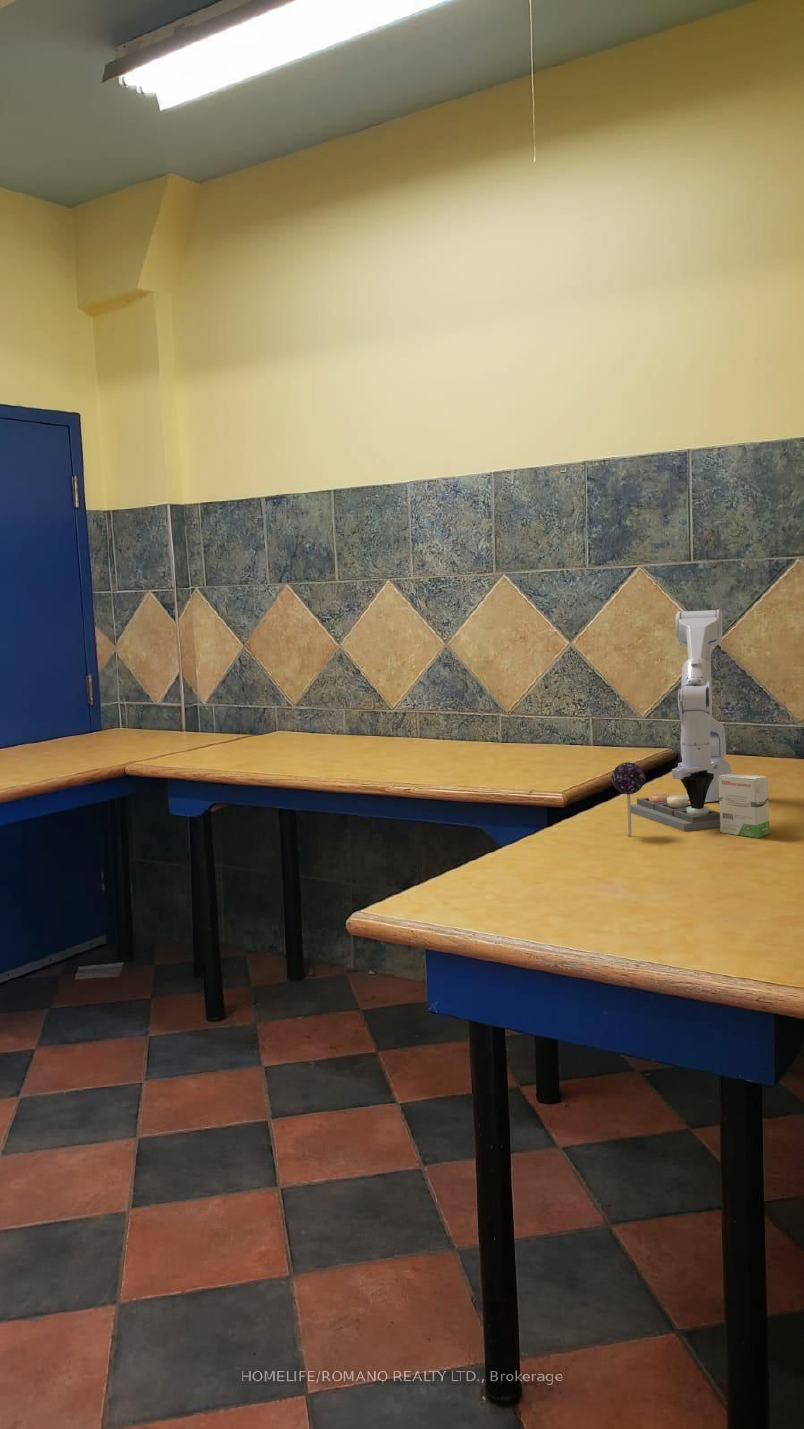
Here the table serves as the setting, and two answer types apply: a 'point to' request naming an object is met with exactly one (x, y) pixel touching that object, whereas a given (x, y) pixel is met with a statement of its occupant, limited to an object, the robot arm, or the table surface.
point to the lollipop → (628, 783)
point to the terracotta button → (658, 798)
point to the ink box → (744, 805)
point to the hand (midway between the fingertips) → (697, 808)
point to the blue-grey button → (697, 811)
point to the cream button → (677, 801)
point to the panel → (675, 815)
